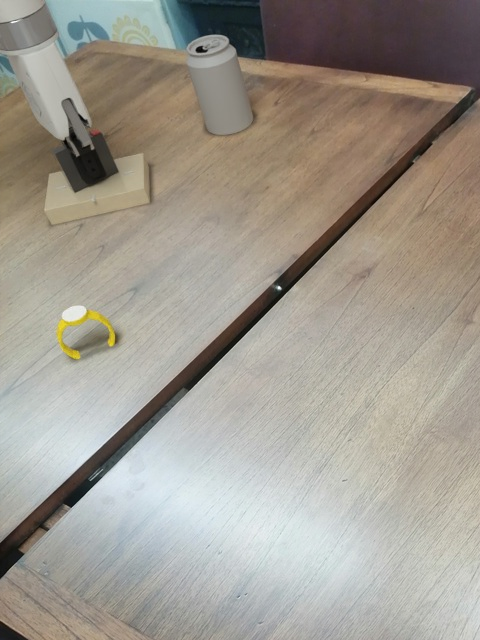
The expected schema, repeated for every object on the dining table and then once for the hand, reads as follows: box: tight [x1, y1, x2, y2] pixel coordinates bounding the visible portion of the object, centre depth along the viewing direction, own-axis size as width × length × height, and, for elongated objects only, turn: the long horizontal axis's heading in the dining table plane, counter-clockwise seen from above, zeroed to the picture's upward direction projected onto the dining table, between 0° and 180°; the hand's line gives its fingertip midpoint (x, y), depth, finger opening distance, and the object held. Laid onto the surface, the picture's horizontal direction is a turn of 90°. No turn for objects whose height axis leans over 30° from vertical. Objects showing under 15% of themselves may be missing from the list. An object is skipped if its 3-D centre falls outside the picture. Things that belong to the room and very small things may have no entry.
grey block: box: [51, 128, 119, 193], centre depth 96 cm, size 7×2×6 cm, turn 128°
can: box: [185, 34, 254, 136], centre depth 104 cm, size 8×8×12 cm
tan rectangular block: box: [43, 152, 151, 226], centre depth 99 cm, size 14×11×3 cm
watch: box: [55, 305, 116, 360], centre depth 78 cm, size 6×3×6 cm, turn 115°
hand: (92, 175), depth 97 cm, fingers closed on grey block
